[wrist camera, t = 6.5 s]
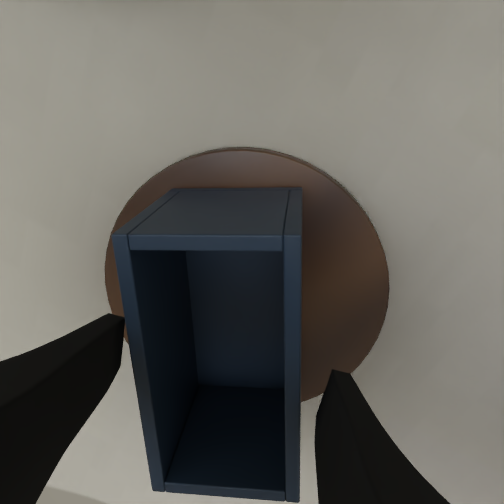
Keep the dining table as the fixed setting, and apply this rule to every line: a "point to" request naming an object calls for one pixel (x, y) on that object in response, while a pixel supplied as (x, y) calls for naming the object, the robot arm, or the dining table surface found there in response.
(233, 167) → the disc
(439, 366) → the dining table surface
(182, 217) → the bin
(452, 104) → the dining table surface
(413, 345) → the dining table surface
